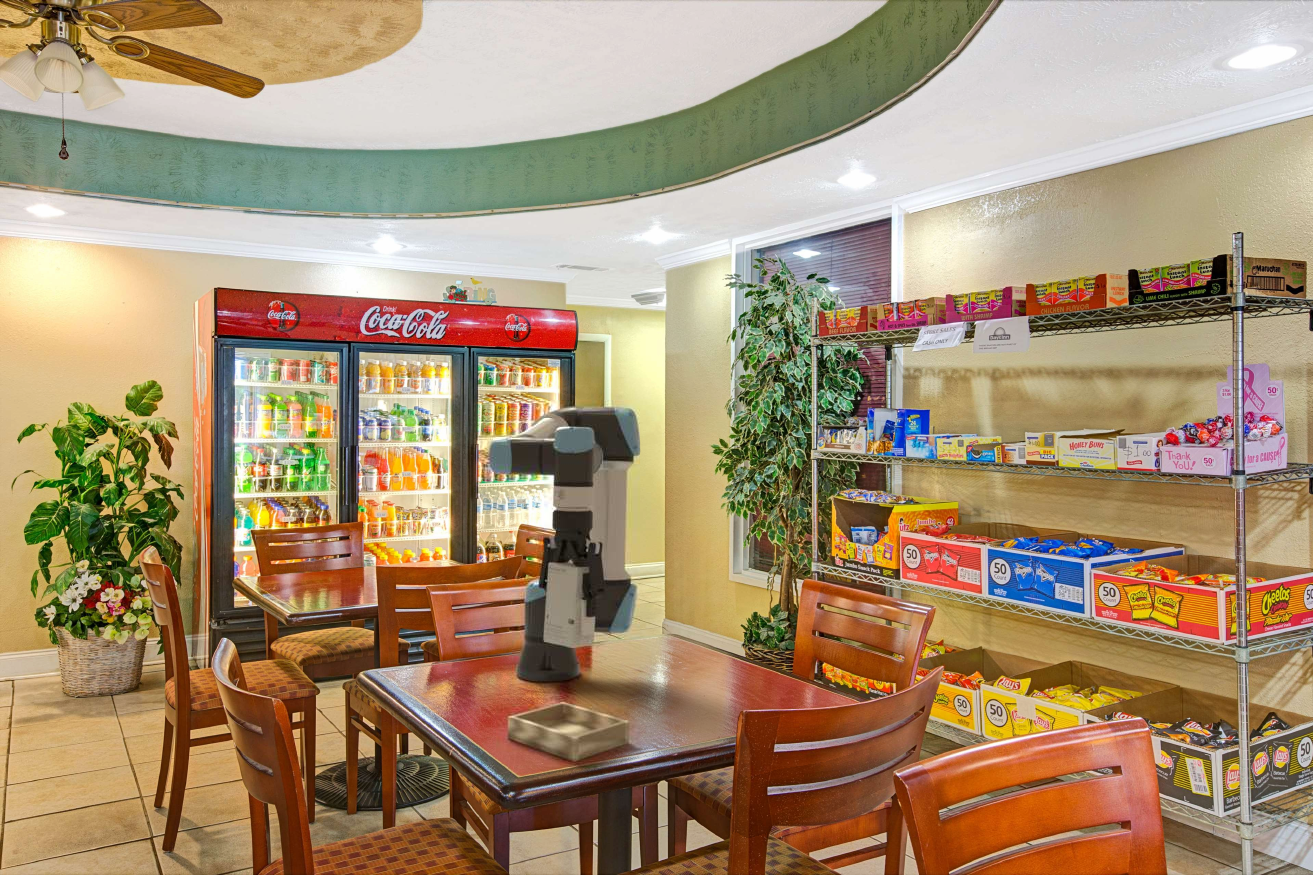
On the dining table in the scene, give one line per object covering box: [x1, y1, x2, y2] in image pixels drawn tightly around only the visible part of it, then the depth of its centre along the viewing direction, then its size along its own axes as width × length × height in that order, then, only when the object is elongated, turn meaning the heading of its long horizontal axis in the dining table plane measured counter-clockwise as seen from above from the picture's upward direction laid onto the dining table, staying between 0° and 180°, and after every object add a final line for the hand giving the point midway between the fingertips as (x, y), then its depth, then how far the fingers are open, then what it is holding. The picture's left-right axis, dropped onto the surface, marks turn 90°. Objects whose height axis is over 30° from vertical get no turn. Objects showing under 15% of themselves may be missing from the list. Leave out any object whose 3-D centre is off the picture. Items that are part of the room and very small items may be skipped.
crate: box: [507, 701, 630, 763], centre depth 166 cm, size 18×14×4 cm
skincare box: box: [544, 561, 595, 648], centre depth 167 cm, size 8×6×15 cm
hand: (570, 630), depth 167 cm, fingers closed on skincare box, 8 cm apart
